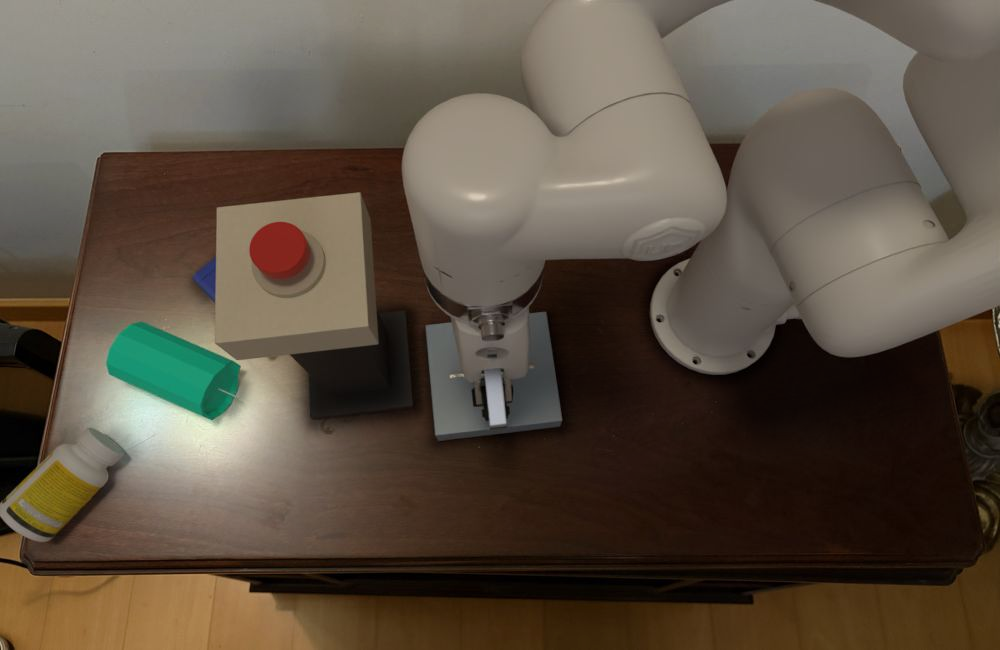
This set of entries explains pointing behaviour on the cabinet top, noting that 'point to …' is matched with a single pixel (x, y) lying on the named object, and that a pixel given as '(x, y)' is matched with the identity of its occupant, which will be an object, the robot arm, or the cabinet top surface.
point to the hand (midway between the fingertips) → (485, 345)
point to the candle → (174, 369)
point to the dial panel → (453, 390)
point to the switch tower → (315, 306)
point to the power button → (279, 250)
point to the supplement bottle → (60, 486)
